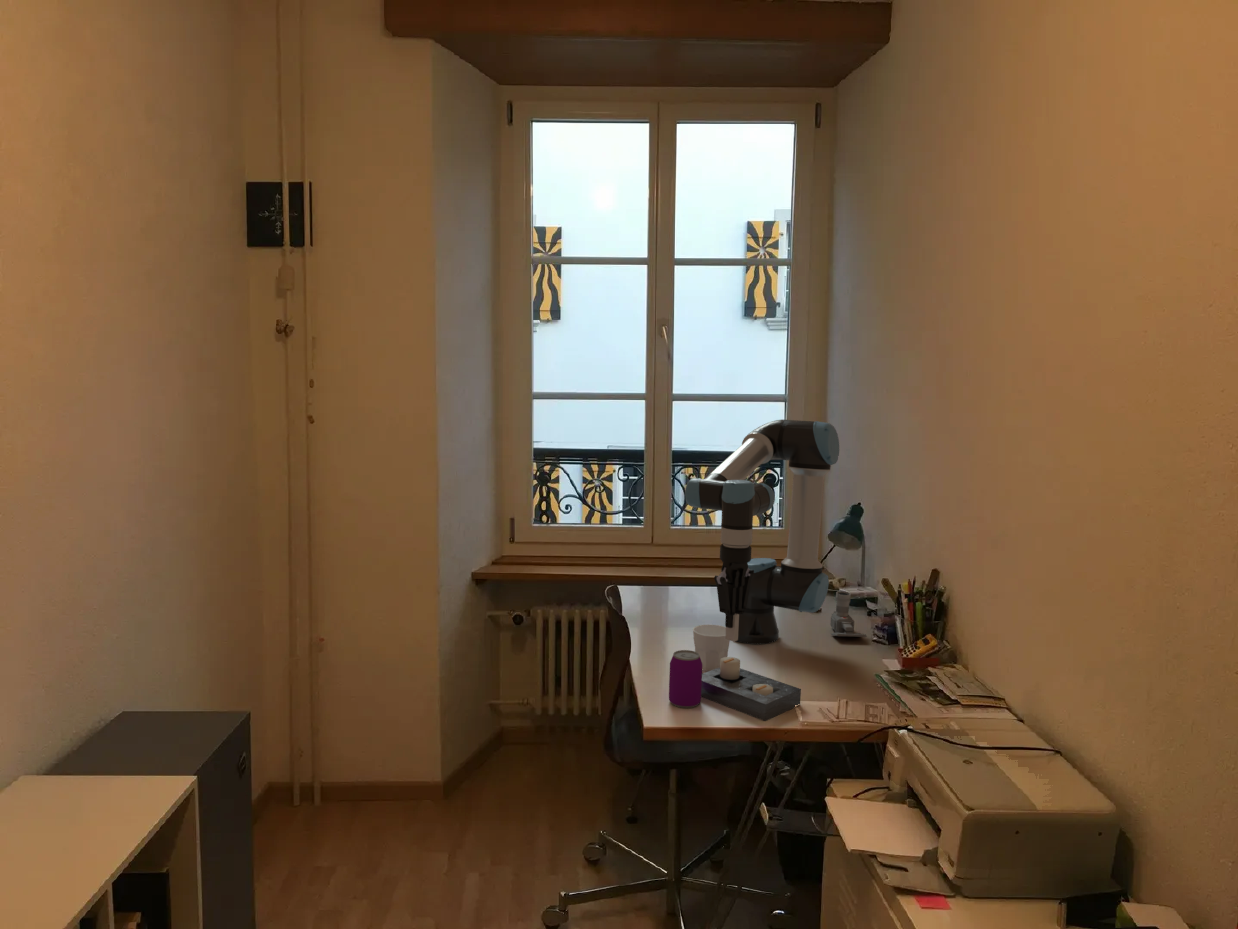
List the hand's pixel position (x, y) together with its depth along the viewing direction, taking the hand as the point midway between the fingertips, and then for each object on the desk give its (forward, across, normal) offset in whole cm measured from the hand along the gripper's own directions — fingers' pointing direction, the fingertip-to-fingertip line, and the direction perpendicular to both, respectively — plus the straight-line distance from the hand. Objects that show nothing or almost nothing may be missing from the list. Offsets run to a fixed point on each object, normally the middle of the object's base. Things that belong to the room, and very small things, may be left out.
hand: (731, 639), depth 212 cm
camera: (+14, -63, -6) cm, 65 cm away
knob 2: (+14, 0, +10) cm, 17 cm away
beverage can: (+14, +13, -3) cm, 19 cm away
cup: (+14, -11, -15) cm, 23 cm away
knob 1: (+10, 0, 0) cm, 10 cm away
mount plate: (+14, 0, +5) cm, 15 cm away
